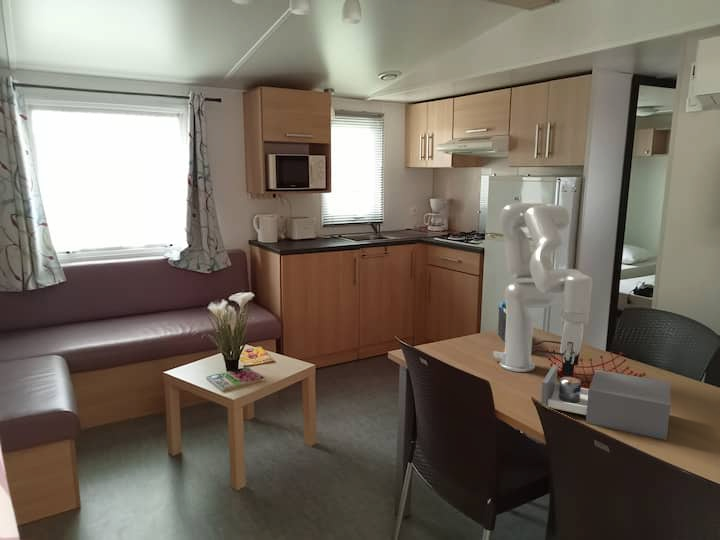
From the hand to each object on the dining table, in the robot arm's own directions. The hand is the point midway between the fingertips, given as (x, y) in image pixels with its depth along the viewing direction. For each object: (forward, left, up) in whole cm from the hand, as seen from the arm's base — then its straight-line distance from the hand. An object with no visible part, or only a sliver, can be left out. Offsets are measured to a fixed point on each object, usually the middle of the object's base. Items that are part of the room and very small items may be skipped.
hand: (569, 369), depth 159 cm
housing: (+16, -1, -12) cm, 20 cm away
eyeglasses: (-15, +49, -12) cm, 53 cm away
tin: (+1, -1, -9) cm, 9 cm away
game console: (-31, +55, -12) cm, 64 cm away
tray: (+3, -1, -10) cm, 11 cm away
